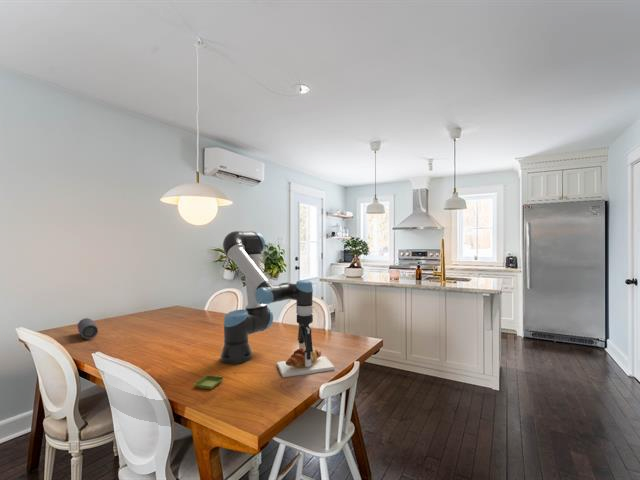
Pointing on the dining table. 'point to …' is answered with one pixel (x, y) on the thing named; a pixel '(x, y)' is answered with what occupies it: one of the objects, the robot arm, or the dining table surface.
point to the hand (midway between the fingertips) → (305, 361)
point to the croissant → (302, 357)
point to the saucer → (208, 382)
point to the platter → (316, 366)
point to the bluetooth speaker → (87, 328)
